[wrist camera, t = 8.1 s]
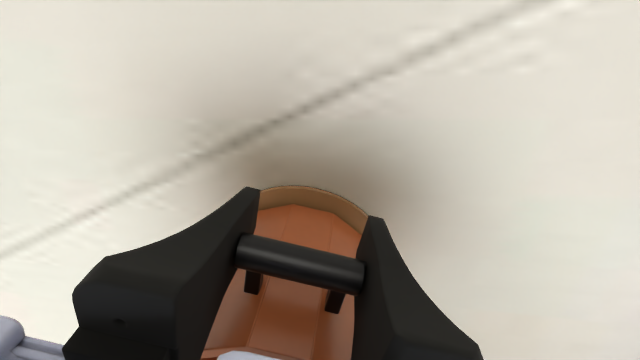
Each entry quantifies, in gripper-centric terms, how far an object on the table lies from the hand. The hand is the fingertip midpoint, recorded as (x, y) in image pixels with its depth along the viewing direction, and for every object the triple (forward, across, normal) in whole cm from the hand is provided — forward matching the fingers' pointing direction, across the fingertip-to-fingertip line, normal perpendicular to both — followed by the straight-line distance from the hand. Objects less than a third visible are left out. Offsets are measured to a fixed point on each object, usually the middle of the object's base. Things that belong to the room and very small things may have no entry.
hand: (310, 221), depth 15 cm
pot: (+3, 0, +5) cm, 5 cm away
